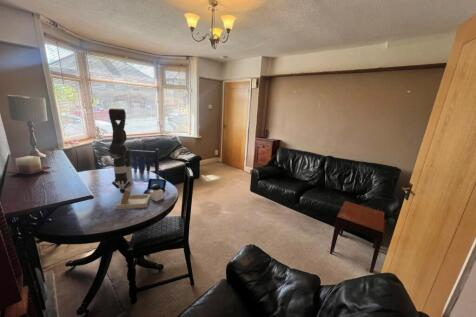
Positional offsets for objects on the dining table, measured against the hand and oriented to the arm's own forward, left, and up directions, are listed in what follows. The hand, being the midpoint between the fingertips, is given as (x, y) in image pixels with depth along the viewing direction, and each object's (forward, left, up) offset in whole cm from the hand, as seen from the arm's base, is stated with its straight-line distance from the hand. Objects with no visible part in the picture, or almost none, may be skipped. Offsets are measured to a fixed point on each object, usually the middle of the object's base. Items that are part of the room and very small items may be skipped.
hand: (122, 193), depth 151 cm
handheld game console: (-20, +19, -9) cm, 29 cm away
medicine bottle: (-5, +23, -9) cm, 25 cm away
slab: (0, 0, -8) cm, 8 cm away
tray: (0, +7, -8) cm, 11 cm away
